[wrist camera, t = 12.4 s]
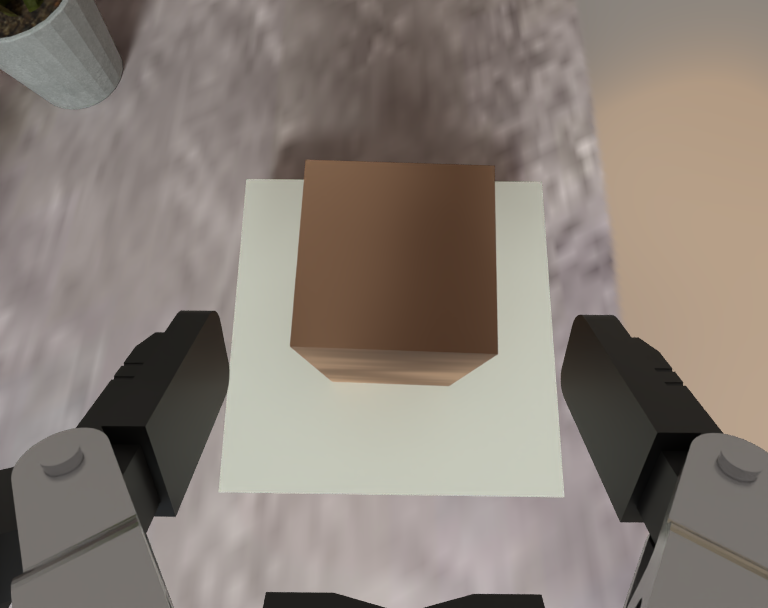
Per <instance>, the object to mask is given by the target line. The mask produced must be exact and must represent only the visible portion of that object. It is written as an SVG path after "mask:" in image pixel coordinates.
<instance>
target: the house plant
mask: <svg viewBox="0 0 768 608" xmlns="http://www.w3.org/2000/svg"><path fill="white" fill-rule="evenodd" d="M0 69H1V70H3V71H4V72H6V73H7V74H9V75H10V76H12V77H13V78H15V79H16V80H17V81H19V82H20V83H22V84H23V85H25V86H26V87H28V88H29V89H31V90H32V91H34V92H35V93H37V94H38V95H39V96H41V97H42V98H44V99H45V100H47V101H48V102H50V103H51V104H53V105H54V106H57V107H61V108H64V109H81V108H87V107H90V106H92V105H95V104H97V103H99V102H101V101H102V100H104V99H105V98H107V97H108V96H109V95H110V94H111V93H112V92H113V91H114V89H115V88H116V87H117V85H118V83H119V81H120V79H121V75H122V71H123V66H122V59H121V57H120V55H119V53H118V51H117V48H116V46H115V44H114V42H113V40H112V38H111V36H110V34H109V31H108V29H107V27H106V25H105V23H104V21H103V19H102V17H101V14H100V12H99V10H98V8H97V6H96V4H95V2H94V0H0Z"/></svg>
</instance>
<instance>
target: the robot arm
mask: <svg viewBox="0 0 768 608" xmlns="http://www.w3.org/2000/svg"><path fill="white" fill-rule="evenodd" d="M229 376H230V372H229V363H228V358H227V353H226V348H225V343H224V338H223V333H222V327H221V322H220V318H219V315H218V313H217V312H216V311H180V312H178V313H177V315H176V316H175V318H174V319H173V321H172V322H171V324H170V325H169V327H168V328H167V330H166V331H165V333H161V332H156V333H154V334H153V335H151V336H150V337H148V338H147V339H146V340H144V341H143V342H141V343H140V344H139V345H137V346H136V347H135V348H134V350H133V351H132V352H131V354H130V355H129V356H128V358H127V359H126V360H125V362H124V366H121V367H120V369H119V370H118V371H117V373H116V374H115V375H114V380H111V381H110V382H109V384H108V385H107V386H106V388H105V389H104V390H103V392H102V393H101V394H100V396H99V397H98V399H97V400H96V401H95V403H94V404H93V405H92V407H91V408H90V409H89V411H88V412H87V414H86V415H85V416H84V418H83V419H82V420H81V422H80V423H79V424H78V426H77V427H76V428H75V429H69V430H65V431H62V432H59V433H56V434H54V435H51V436H49V437H47V438H45V439H43V440H42V441H40V442H38V443H37V444H35V445H34V446H32V447H31V448H30V449H29V450H28V451H26V452H25V453H24V454H23V455H22V456H21V458H20V459H19V460H18V462H17V463H16V465H15V467H12V468H8V469H3V470H0V608H9V606H10V604H11V602H12V608H174V606H173V604H172V601H171V598H170V596H169V593H168V590H167V588H166V585H165V582H164V579H163V577H162V574H161V571H160V569H159V566H158V563H157V561H156V558H155V555H154V553H153V550H152V547H151V544H150V542H149V539H148V537H147V534H146V532H147V530H148V528H149V526H150V524H151V521H152V519H153V517H154V516H166V517H176V515H177V512H178V510H179V508H180V505H181V503H182V500H183V498H184V495H185V493H186V491H187V488H188V486H189V483H190V481H191V478H192V476H193V474H194V471H195V469H196V466H197V464H198V461H199V459H200V457H201V454H202V452H203V449H204V447H205V444H206V442H207V440H208V437H209V435H210V432H211V430H212V427H213V425H214V423H215V420H216V418H217V415H218V413H219V410H220V408H221V406H222V403H223V401H224V398H225V396H226V393H227V390H228V386H229ZM561 388H562V393H563V396H564V399H565V401H566V403H567V405H568V407H569V410H570V412H571V414H572V416H573V419H574V421H575V423H576V425H577V427H578V430H579V432H580V434H581V436H582V438H583V441H584V443H585V445H586V447H587V450H588V452H589V454H590V456H591V458H592V461H593V463H594V465H595V467H596V469H597V472H598V474H599V476H600V478H601V480H602V483H603V485H604V487H605V489H606V492H607V494H608V496H609V498H610V500H611V503H612V505H613V507H614V509H615V511H616V514H617V516H618V518H619V520H620V522H644V523H645V525H646V527H647V529H648V531H649V535H648V537H647V539H646V541H645V544H644V547H643V550H642V553H641V556H640V558H639V561H638V564H637V567H636V570H635V573H634V576H633V579H632V582H631V585H630V588H629V591H628V594H627V597H626V600H625V603H624V606H623V608H768V453H767V452H766V451H764V450H763V449H761V448H760V447H758V446H756V445H754V444H753V443H750V442H748V441H746V440H744V439H741V438H738V437H735V436H731V435H727V434H723V432H722V431H721V430H720V429H719V428H718V426H717V425H716V424H715V422H714V421H713V420H712V418H711V417H710V416H709V415H708V413H707V412H706V411H705V410H704V409H703V407H702V406H701V404H700V403H699V402H698V401H697V399H696V398H695V397H694V396H693V394H692V393H691V392H690V390H689V389H688V388H687V387H686V386H683V382H682V380H681V379H680V378H679V376H678V375H677V374H676V373H675V372H672V368H671V366H670V365H669V364H668V362H667V361H666V360H665V359H664V358H663V356H662V355H661V354H660V352H659V351H657V350H656V349H654V348H653V347H651V346H650V345H649V344H647V343H646V342H644V341H643V340H641V339H640V338H631V337H630V335H629V333H628V332H627V331H626V329H625V328H624V327H623V325H622V324H621V323H620V321H619V320H618V319H617V318H616V317H615V316H614V315H578V316H577V317H576V318H575V320H574V322H573V325H572V329H571V333H570V337H569V341H568V345H567V349H566V353H565V357H564V361H563V366H562V370H561ZM263 608H385V607H381V606H378V605H374V604H371V603H367V602H364V601H360V600H357V599H353V598H350V597H347V596H343V595H340V594H336V593H300V592H266V595H265V600H264V605H263ZM425 608H545V606H544V603H543V599H542V595H534V594H472V595H468V596H465V597H461V598H457V599H454V600H450V601H447V602H443V603H439V604H436V605H432V606H429V607H425Z"/></svg>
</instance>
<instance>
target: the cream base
mask: <svg viewBox="0 0 768 608" xmlns="http://www.w3.org/2000/svg"><path fill="white" fill-rule="evenodd" d="M303 184H304V180H289V179H246V190H245V201H244V213H243V224H242V235H241V246H240V258H239V269H238V280H237V291H236V303H235V314H234V325H233V336H232V347H231V359H230V370H229V372H230V376H229V386H228V392H227V404H226V415H225V426H224V437H223V449H222V460H221V471H220V482H219V492H237V493H306V494H375V495H444V496H512V497H564V487H563V473H562V459H561V445H560V430H559V416H558V402H557V388H556V374H555V360H554V346H553V332H552V318H551V304H550V290H549V276H548V262H547V248H546V234H545V220H544V205H543V191H542V182H498V181H495V213H496V266H497V320H498V355H496V356H494V357H493V358H491V359H490V360H488V361H487V362H485V363H484V364H482V365H481V366H479V367H478V368H476V369H475V370H473V371H472V372H470V373H469V374H467V375H465V376H464V377H462V378H461V379H459V380H458V381H456V382H455V383H453V384H452V385H450V386H430V385H404V384H377V383H351V382H332V381H330V380H329V379H328V378H327V377H326V376H324V375H323V374H322V373H321V372H320V371H319V370H317V369H316V368H315V367H314V366H313V365H311V364H310V363H309V362H308V361H307V360H305V359H304V358H303V357H302V356H301V355H299V354H298V353H297V352H296V351H295V350H293V349H292V348H291V347H290V337H291V326H292V314H293V302H294V290H295V278H296V267H297V255H298V243H299V231H300V219H301V208H302V196H303Z"/></svg>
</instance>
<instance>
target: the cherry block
mask: <svg viewBox="0 0 768 608" xmlns="http://www.w3.org/2000/svg"><path fill="white" fill-rule="evenodd" d="M290 347H291V348H292V349H293V350H295V351H296V352H297V353H298V354H299V355H301V356H302V357H303V358H304V359H305V360H307V361H308V362H309V363H310V364H311V365H313V366H314V367H315V368H316V369H317V370H319V371H320V372H321V373H322V374H323V375H324V376H326V377H327V378H328V379H329V380H330V381H332V382H351V383H377V384H404V385H430V386H450V385H452V384H453V383H455V382H456V381H458V380H459V379H461V378H462V377H464V376H465V375H467V374H469V373H470V372H472V371H473V370H475V369H476V368H478V367H479V366H481V365H482V364H484V363H485V362H487V361H488V360H490V359H491V358H493V357H494V356H496V355H498V320H497V266H496V213H495V166H490V165H459V164H427V163H395V162H363V161H331V160H306V161H305V172H304V184H303V196H302V208H301V219H300V231H299V243H298V255H297V267H296V278H295V290H294V302H293V314H292V326H291V337H290Z"/></svg>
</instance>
